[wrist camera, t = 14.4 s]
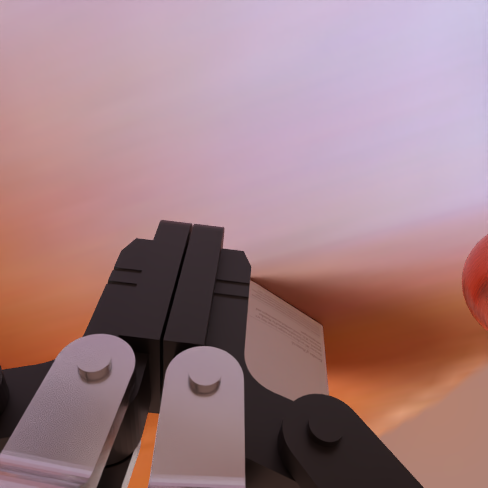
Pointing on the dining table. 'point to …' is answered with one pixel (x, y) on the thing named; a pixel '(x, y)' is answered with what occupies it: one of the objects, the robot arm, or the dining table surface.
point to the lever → (477, 282)
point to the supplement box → (284, 346)
